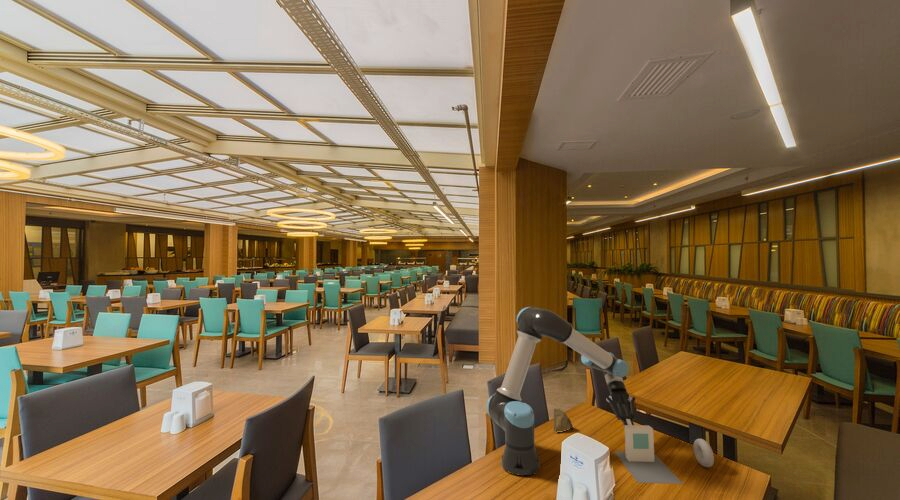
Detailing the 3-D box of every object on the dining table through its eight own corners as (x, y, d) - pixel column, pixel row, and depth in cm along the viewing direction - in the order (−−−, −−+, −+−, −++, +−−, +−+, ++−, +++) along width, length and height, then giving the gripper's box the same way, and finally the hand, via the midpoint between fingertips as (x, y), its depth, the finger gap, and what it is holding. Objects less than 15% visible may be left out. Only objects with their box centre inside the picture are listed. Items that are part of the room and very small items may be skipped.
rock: (571, 420, 179) (551, 416, 181) (575, 410, 174) (554, 406, 176) (573, 441, 170) (552, 437, 172) (577, 432, 166) (555, 427, 167)
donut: (716, 473, 136) (715, 446, 136) (707, 472, 136) (705, 445, 136) (700, 459, 146) (699, 434, 146) (692, 458, 146) (690, 433, 146)
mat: (614, 453, 151) (614, 451, 151) (652, 453, 150) (652, 452, 150) (637, 484, 129) (637, 482, 129) (683, 485, 128) (683, 483, 128)
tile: (625, 457, 147) (624, 425, 147) (650, 457, 146) (649, 425, 147) (629, 461, 144) (627, 428, 144) (654, 461, 143) (653, 428, 144)
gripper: (627, 387, 171) (645, 439, 154) (599, 387, 172) (614, 439, 154) (631, 380, 166) (651, 432, 149) (603, 379, 167) (619, 432, 149)
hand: (632, 436), depth 151 cm, fingers closed
